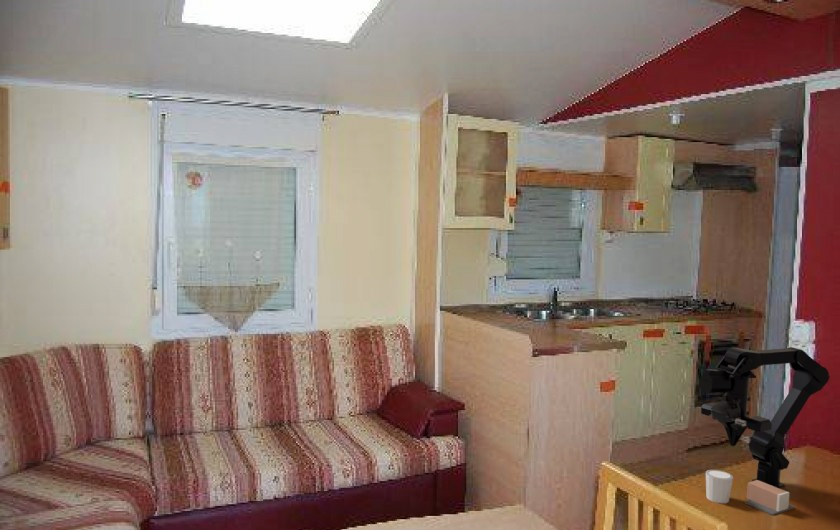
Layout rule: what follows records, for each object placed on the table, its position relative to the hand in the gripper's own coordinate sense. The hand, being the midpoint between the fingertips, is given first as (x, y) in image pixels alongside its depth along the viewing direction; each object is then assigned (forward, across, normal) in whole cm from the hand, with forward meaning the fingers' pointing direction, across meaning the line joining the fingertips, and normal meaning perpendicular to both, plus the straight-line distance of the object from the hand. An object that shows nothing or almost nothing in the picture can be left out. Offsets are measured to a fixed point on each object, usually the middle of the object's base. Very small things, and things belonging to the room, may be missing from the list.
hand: (732, 445), depth 184 cm
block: (+9, +8, -2) cm, 12 cm away
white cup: (+12, +4, -11) cm, 17 cm away
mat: (+12, +13, -2) cm, 18 cm away
